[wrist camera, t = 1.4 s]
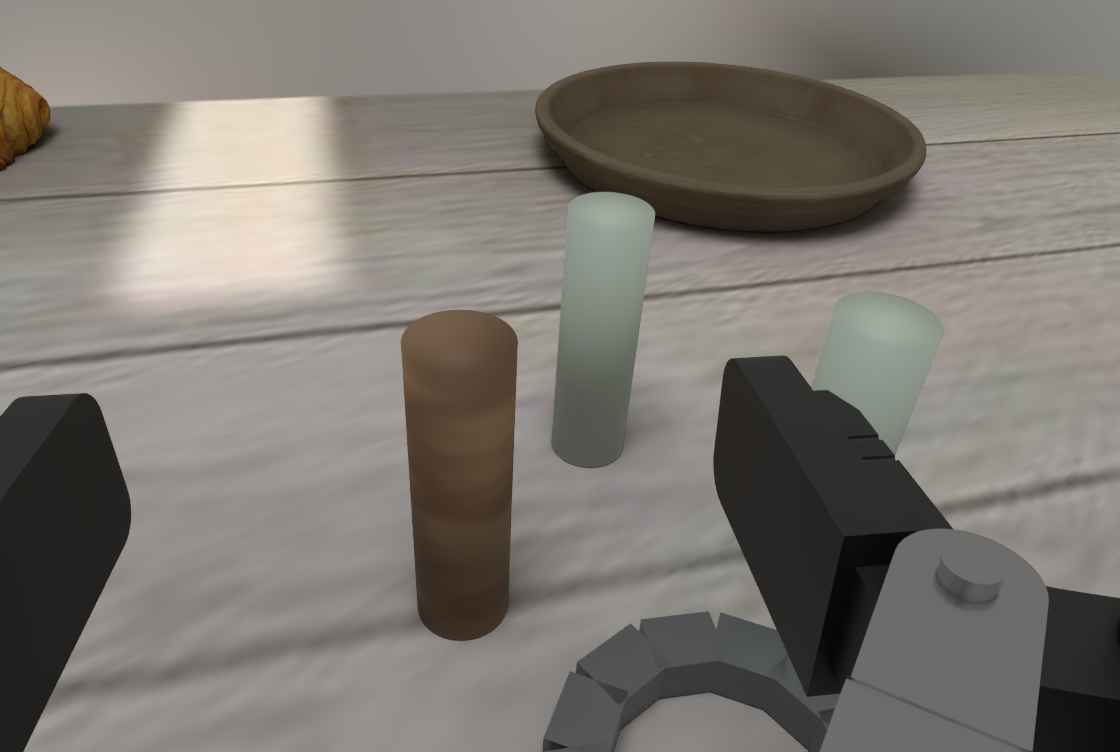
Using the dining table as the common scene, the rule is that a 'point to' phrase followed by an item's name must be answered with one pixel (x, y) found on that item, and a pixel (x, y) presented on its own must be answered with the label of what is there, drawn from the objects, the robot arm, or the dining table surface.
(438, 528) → the walnut dowel
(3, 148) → the croissant
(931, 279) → the dining table surface
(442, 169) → the dining table surface
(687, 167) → the plant saucer
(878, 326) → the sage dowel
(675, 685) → the ring
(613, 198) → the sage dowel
